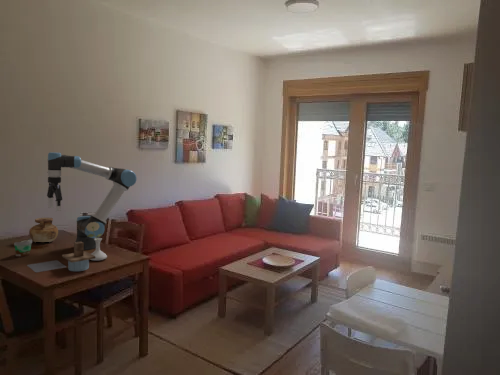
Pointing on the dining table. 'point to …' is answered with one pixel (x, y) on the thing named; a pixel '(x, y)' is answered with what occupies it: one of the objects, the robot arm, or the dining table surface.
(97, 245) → the flower in vase
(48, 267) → the rubber mat
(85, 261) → the ceramic bowl
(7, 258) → the dining table surface
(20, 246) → the food container
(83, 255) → the walnut lid
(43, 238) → the clay pot
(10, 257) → the dining table surface
